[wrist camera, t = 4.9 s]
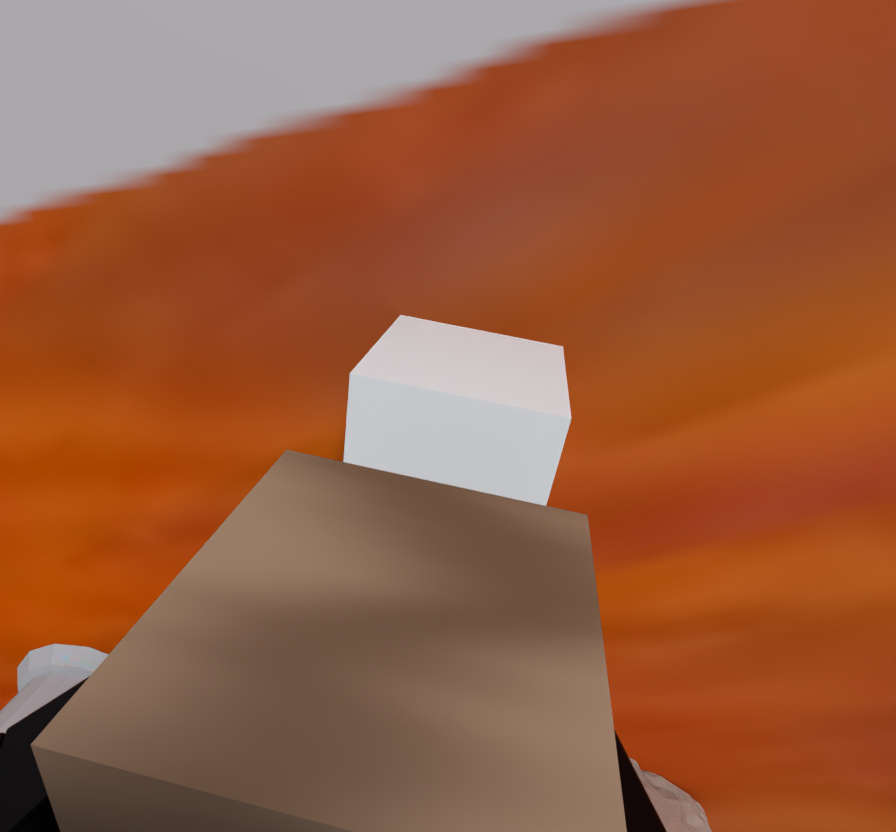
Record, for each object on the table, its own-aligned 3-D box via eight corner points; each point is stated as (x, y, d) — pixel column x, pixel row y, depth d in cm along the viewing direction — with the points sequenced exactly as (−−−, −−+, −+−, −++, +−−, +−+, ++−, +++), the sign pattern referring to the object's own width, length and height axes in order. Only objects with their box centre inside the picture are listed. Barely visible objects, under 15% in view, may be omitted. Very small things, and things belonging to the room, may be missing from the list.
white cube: (562, 345, 16) (571, 418, 12) (526, 482, 18) (522, 586, 14) (401, 314, 16) (349, 373, 12) (385, 452, 19) (337, 544, 14)
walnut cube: (587, 514, 9) (635, 907, 4) (521, 712, 11) (506, 1103, 6) (287, 449, 9) (30, 745, 4) (284, 653, 11) (113, 984, 7)
